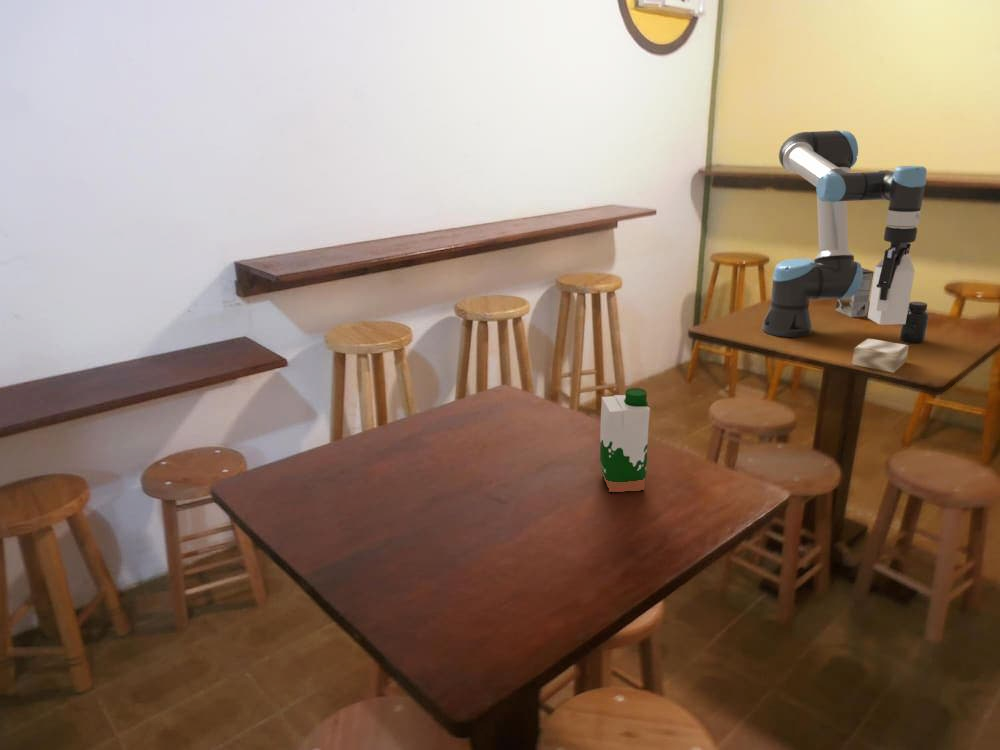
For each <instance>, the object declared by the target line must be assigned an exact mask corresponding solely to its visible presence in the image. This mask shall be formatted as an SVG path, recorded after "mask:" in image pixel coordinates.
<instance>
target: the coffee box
mask: <svg viewBox="0 0 1000 750" xmlns="http://www.w3.org/2000/svg"><path fill="white" fill-rule="evenodd" d="M862 270H863V277H862V282H861V285H860V288H859V289H858V291H857V293H856V294H855V295H854V296H852V297H850V298H841V299H836V307H835V312H837V313H840V314H842V315H844V316H847V317H848V318H858V317H867V316H868V310H869V304H870V298H871V292H872V286H873V279H874V273H875V270H870V269H867V268H863V267H862Z"/></svg>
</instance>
